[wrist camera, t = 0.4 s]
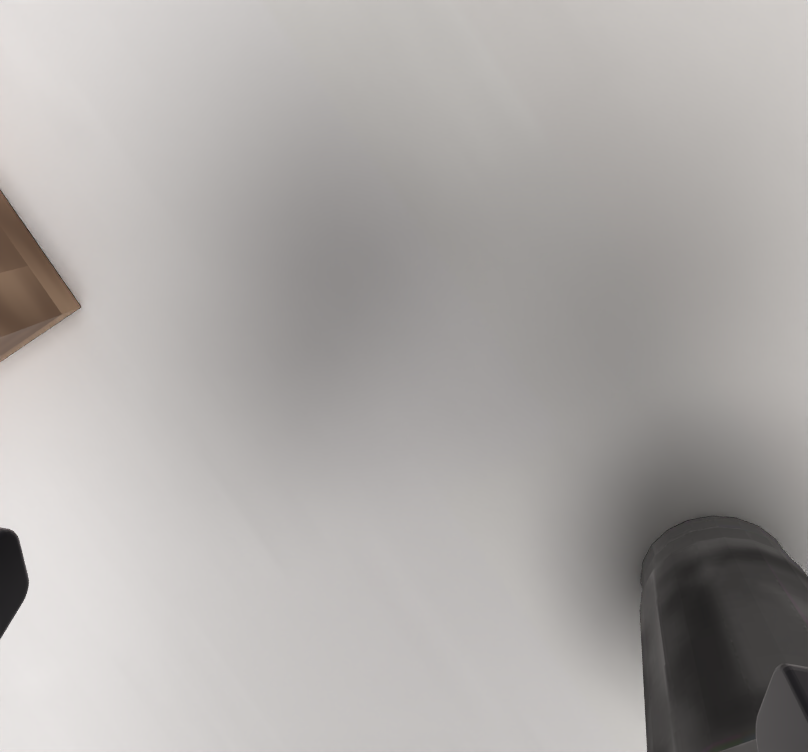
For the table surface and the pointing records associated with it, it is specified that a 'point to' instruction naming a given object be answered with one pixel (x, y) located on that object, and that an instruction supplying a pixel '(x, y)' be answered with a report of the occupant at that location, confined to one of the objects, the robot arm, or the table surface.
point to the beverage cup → (716, 632)
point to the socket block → (27, 286)
